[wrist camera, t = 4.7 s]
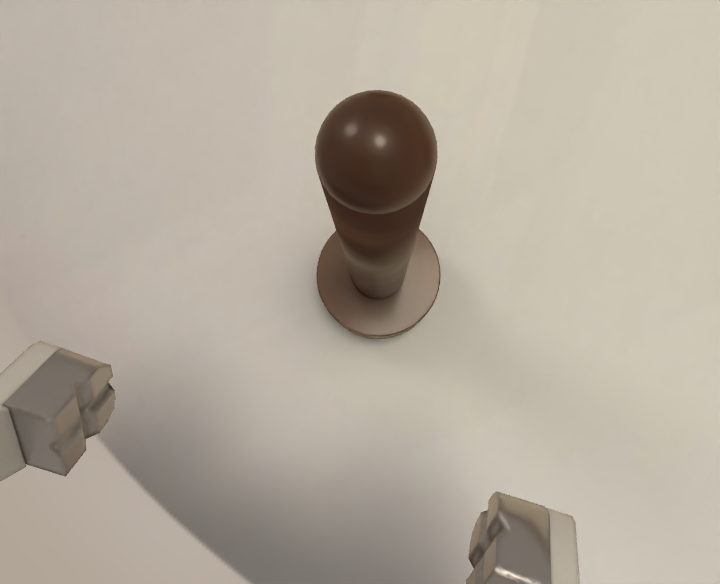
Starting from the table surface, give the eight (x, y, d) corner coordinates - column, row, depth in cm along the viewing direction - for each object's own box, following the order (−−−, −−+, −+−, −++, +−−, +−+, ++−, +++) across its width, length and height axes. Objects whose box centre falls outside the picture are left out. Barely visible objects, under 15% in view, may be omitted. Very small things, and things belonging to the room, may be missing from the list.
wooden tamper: (329, 345, 26) (232, 310, 9) (315, 235, 27) (200, 5, 10) (442, 330, 26) (565, 266, 9) (425, 220, 26) (509, -41, 9)
